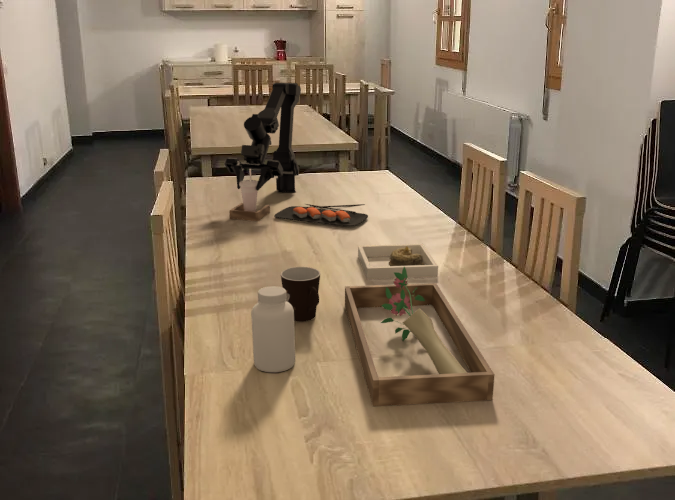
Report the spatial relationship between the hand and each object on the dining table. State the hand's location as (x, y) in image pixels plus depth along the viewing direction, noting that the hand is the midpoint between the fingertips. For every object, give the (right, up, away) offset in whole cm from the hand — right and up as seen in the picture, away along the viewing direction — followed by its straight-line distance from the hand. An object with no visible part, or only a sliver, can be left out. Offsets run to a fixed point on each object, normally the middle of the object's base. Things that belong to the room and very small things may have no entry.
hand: (247, 189), depth 229 cm
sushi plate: (+27, -8, +8) cm, 29 cm away
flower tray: (+43, -39, -86) cm, 104 cm away
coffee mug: (+21, -35, -73) cm, 83 cm away
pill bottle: (+17, -42, -93) cm, 103 cm away
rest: (0, -8, +4) cm, 9 cm away
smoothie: (0, -7, +4) cm, 8 cm away
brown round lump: (+47, -24, -39) cm, 66 cm away
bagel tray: (+44, -24, -41) cm, 65 cm away
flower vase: (+45, -40, -89) cm, 107 cm away
